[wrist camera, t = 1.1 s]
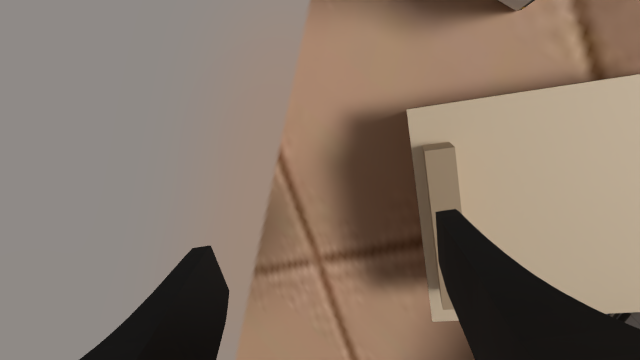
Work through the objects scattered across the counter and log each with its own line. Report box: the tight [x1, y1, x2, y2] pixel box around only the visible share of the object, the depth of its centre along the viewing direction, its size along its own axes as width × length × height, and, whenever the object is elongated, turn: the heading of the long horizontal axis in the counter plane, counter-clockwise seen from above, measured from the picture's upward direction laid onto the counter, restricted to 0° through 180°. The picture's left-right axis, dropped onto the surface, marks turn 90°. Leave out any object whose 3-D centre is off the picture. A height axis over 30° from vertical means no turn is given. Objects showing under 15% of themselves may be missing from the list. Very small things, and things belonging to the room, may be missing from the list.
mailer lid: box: [406, 74, 640, 322], centre depth 18 cm, size 10×13×3 cm
